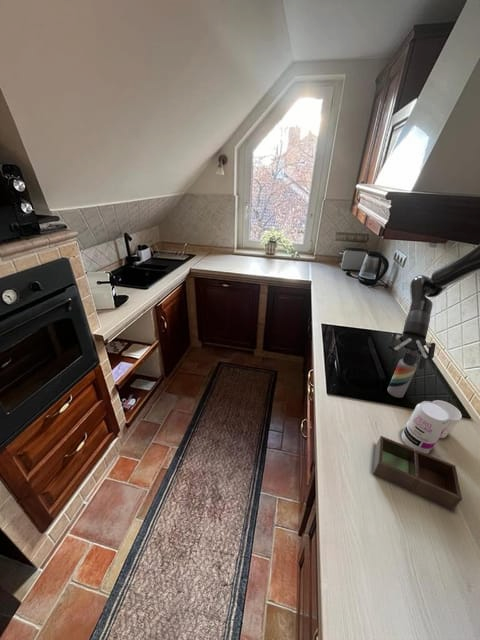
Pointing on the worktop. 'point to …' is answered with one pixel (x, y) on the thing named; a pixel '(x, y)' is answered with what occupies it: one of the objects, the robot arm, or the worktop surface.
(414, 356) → the lotion bottle
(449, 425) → the white cup
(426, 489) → the caddy
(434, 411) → the supplement can
